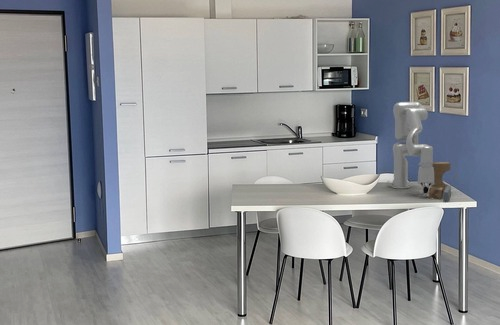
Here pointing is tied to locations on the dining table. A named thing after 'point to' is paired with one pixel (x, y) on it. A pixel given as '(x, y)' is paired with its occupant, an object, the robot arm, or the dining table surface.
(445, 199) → the charcoal board
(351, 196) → the dining table surface
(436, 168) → the decorative block
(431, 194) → the walnut block
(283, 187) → the dining table surface
